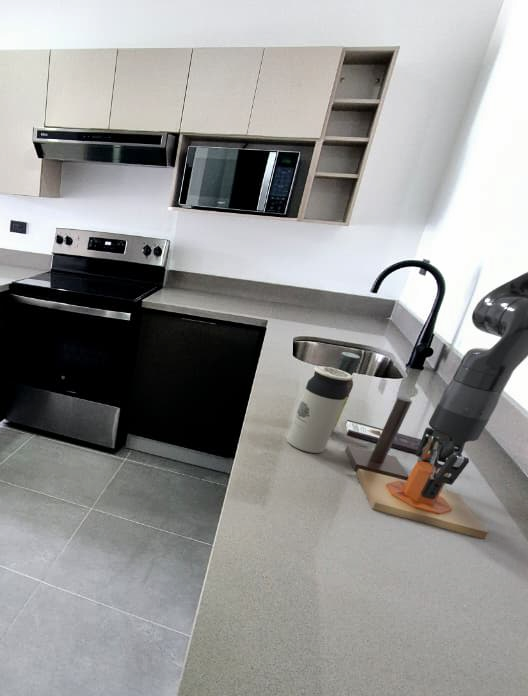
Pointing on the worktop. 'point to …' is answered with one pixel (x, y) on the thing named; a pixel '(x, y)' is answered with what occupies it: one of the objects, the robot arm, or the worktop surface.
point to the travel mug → (319, 409)
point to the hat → (419, 490)
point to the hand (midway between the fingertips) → (422, 489)
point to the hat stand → (383, 446)
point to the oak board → (385, 502)
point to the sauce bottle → (347, 365)
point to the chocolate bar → (374, 433)
